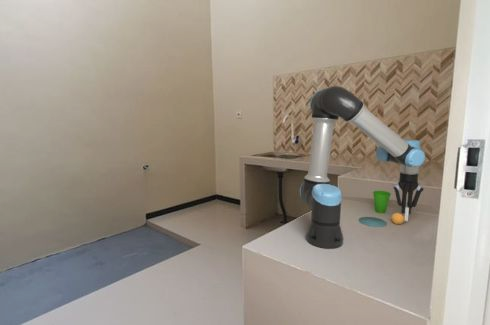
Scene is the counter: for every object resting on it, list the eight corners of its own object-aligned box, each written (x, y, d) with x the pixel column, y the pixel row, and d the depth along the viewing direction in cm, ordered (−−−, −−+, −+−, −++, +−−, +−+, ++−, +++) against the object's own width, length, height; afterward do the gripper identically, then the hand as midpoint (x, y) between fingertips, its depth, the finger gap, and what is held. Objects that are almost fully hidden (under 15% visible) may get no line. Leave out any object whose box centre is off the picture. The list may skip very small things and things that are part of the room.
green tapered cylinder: (391, 215, 147) (393, 195, 146) (373, 214, 149) (375, 194, 147) (386, 209, 156) (388, 191, 154) (369, 208, 158) (371, 190, 156)
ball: (399, 228, 133) (390, 219, 133) (395, 224, 138) (387, 216, 138) (408, 221, 131) (400, 212, 132) (404, 217, 137) (396, 209, 137)
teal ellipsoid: (360, 225, 133) (360, 225, 133) (357, 216, 146) (357, 215, 146) (390, 228, 130) (390, 227, 130) (383, 218, 143) (383, 218, 143)
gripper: (421, 171, 132) (417, 218, 136) (391, 170, 136) (388, 216, 139) (427, 174, 125) (423, 223, 129) (396, 173, 128) (392, 221, 132)
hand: (405, 219), depth 134 cm, fingers closed
